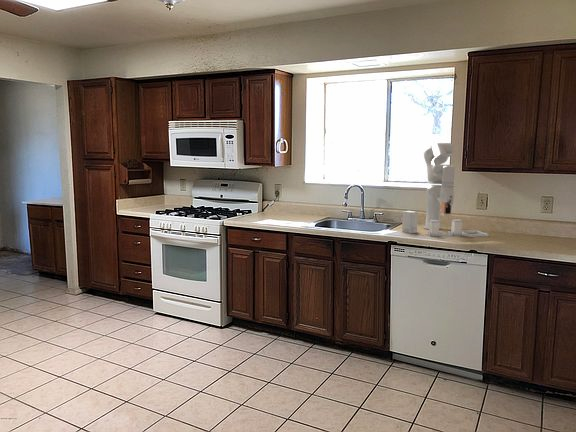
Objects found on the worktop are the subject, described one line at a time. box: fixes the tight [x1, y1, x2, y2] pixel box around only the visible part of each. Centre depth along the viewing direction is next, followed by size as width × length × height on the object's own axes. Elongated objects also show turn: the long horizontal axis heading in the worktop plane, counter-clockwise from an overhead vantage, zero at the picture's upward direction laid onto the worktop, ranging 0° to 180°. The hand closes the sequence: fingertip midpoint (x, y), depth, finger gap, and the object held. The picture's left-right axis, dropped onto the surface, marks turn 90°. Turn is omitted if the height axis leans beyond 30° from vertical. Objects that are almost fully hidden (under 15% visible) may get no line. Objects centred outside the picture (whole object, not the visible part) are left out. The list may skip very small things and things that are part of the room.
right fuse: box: [450, 218, 463, 236], centre depth 305 cm, size 4×5×10 cm
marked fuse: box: [440, 202, 453, 217], centre depth 302 cm, size 4×5×10 cm
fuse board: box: [424, 230, 465, 238], centre depth 304 cm, size 10×24×4 cm, turn 100°
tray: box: [462, 229, 489, 238], centre depth 308 cm, size 14×14×3 cm
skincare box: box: [401, 210, 418, 234], centre depth 315 cm, size 8×7×16 cm
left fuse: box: [428, 220, 440, 236], centre depth 302 cm, size 4×5×10 cm
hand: (446, 212), depth 303 cm, fingers closed on marked fuse, 4 cm apart
